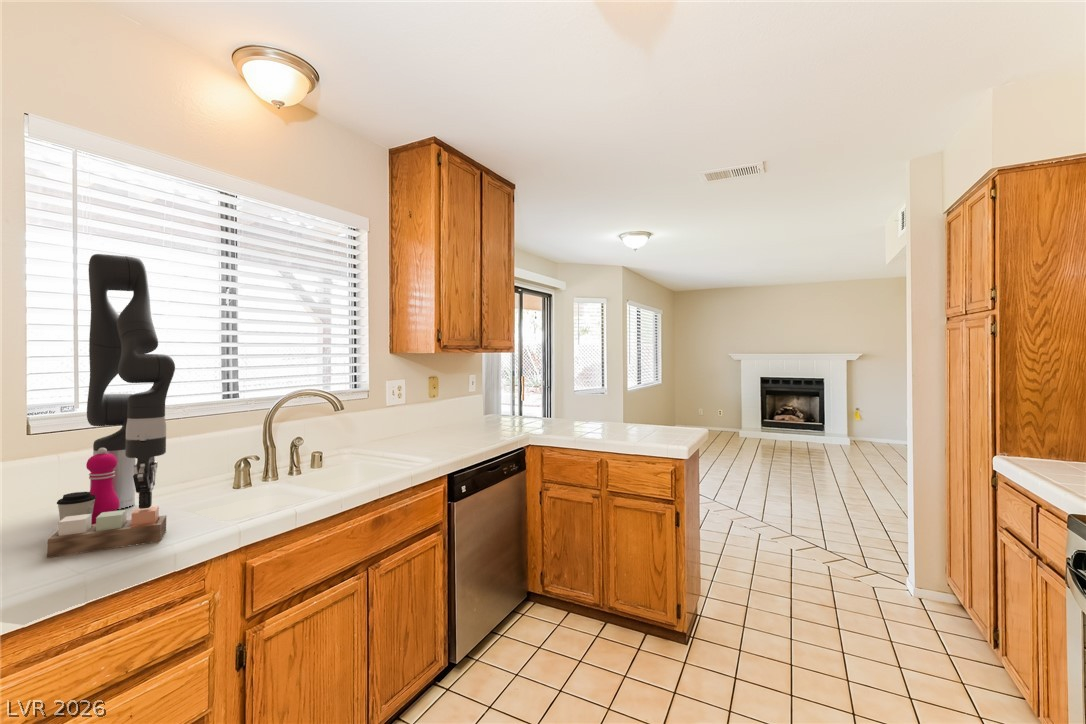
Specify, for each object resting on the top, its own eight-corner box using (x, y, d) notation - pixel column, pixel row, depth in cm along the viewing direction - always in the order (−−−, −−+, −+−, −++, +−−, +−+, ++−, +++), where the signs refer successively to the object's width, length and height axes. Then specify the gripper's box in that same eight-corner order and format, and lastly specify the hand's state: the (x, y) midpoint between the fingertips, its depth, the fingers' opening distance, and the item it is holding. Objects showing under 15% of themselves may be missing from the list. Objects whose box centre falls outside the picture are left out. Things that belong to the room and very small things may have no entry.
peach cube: (131, 532, 111) (131, 513, 111) (135, 527, 115) (135, 508, 115) (155, 529, 114) (155, 510, 114) (158, 524, 117) (158, 506, 117)
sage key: (95, 537, 108) (96, 517, 108) (101, 531, 112) (101, 512, 112) (121, 534, 110) (121, 514, 110) (125, 528, 114) (126, 509, 114)
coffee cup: (103, 531, 119) (103, 491, 119) (71, 541, 112) (72, 499, 112) (80, 529, 120) (81, 489, 120) (47, 539, 113) (48, 497, 113)
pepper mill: (96, 529, 120) (97, 450, 120) (74, 526, 122) (75, 449, 122) (126, 520, 127) (127, 446, 128) (105, 518, 129) (106, 444, 129)
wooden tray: (46, 557, 103) (47, 538, 103) (60, 545, 110) (60, 527, 110) (160, 541, 113) (160, 523, 113) (166, 531, 120) (166, 514, 120)
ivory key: (58, 542, 105) (58, 522, 105) (65, 536, 109) (65, 516, 109) (85, 538, 107) (85, 519, 107) (91, 532, 111) (91, 513, 111)
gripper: (132, 433, 118) (131, 503, 118) (118, 441, 107) (117, 517, 107) (170, 431, 122) (169, 498, 122) (161, 438, 111) (159, 512, 110)
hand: (145, 507), depth 114 cm, fingers closed
